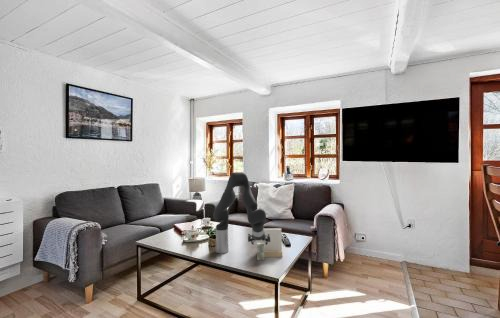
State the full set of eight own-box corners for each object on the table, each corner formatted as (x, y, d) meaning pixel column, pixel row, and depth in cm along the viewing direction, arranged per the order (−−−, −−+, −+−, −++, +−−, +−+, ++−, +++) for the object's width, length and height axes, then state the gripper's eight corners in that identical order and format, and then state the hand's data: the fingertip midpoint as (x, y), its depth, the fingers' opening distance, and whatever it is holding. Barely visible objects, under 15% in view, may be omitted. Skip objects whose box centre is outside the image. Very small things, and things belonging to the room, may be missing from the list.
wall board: (256, 256, 180) (256, 231, 180) (257, 252, 188) (257, 228, 188) (282, 257, 178) (281, 231, 178) (281, 252, 186) (281, 228, 186)
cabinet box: (257, 260, 174) (256, 244, 174) (257, 258, 177) (257, 242, 177) (264, 260, 174) (264, 244, 174) (264, 258, 177) (264, 242, 177)
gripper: (269, 225, 156) (270, 238, 167) (247, 225, 157) (249, 238, 169) (269, 236, 151) (270, 249, 162) (246, 236, 152) (248, 248, 163)
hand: (259, 243), depth 165 cm, fingers open, 8 cm apart
